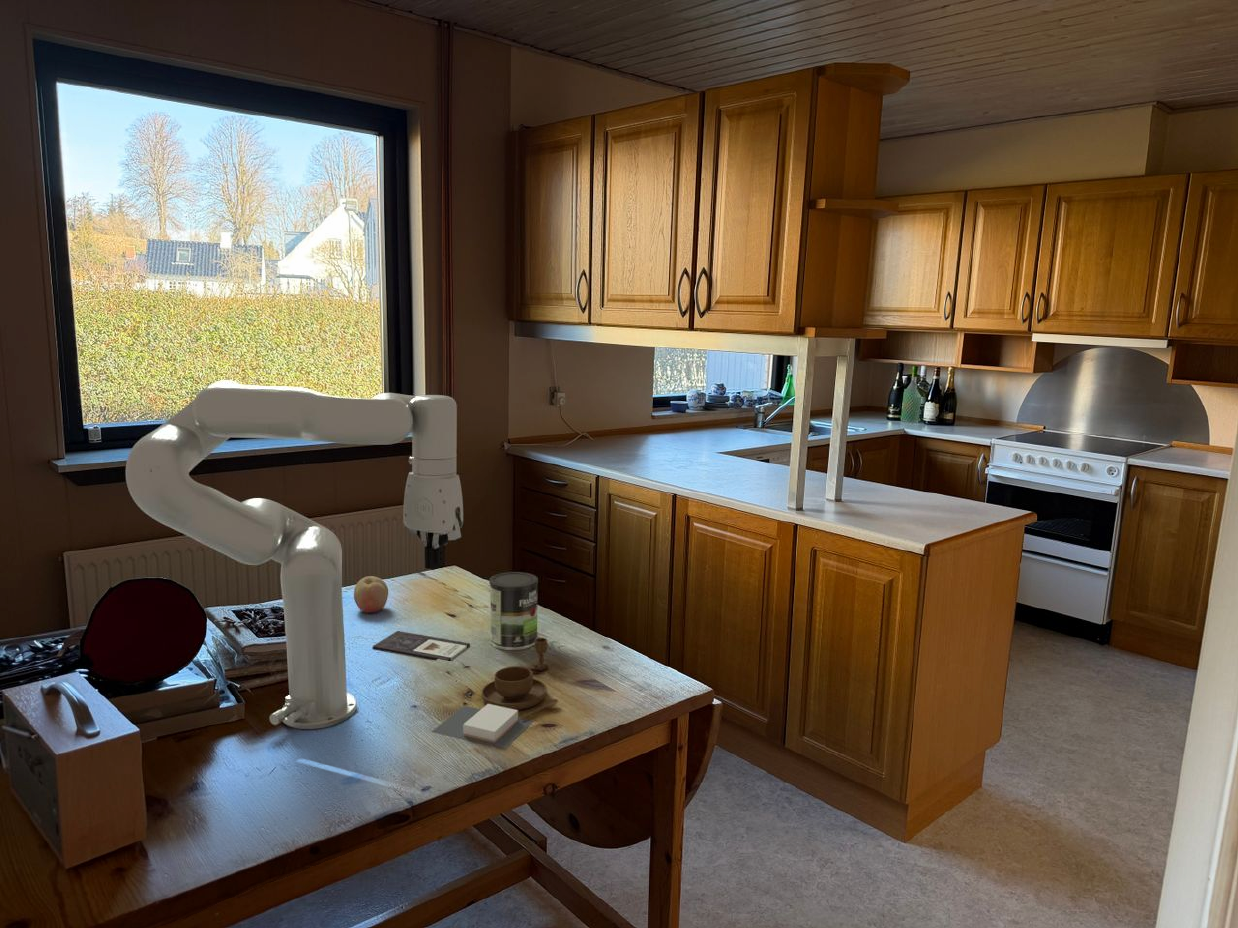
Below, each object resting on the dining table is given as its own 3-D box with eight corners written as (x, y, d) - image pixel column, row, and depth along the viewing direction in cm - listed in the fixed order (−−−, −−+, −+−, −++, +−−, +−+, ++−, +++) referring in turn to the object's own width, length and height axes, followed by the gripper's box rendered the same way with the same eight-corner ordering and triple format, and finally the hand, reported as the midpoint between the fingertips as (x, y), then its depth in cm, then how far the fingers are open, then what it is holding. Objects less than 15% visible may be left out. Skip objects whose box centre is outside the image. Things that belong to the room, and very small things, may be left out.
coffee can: (547, 638, 181) (547, 576, 178) (519, 654, 172) (519, 590, 169) (509, 628, 186) (508, 568, 183) (480, 644, 177) (479, 581, 174)
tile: (463, 735, 138) (494, 742, 136) (463, 724, 138) (494, 731, 136) (487, 714, 146) (518, 720, 143) (487, 703, 145) (518, 710, 143)
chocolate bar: (397, 630, 182) (469, 643, 176) (397, 634, 182) (469, 647, 176) (372, 646, 173) (447, 660, 168) (372, 650, 173) (447, 664, 168)
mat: (505, 752, 134) (504, 748, 134) (432, 734, 139) (431, 731, 139) (533, 724, 144) (533, 721, 144) (463, 708, 149) (463, 705, 149)
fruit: (349, 616, 191) (347, 583, 189) (360, 604, 199) (359, 572, 197) (383, 617, 191) (382, 584, 189) (393, 605, 198) (392, 573, 197)
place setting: (458, 694, 154) (457, 664, 153) (540, 663, 168) (539, 635, 167) (518, 724, 142) (517, 692, 141) (601, 688, 156) (600, 658, 155)
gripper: (386, 464, 144) (387, 565, 147) (456, 475, 138) (455, 580, 141) (414, 458, 150) (414, 555, 154) (482, 468, 144) (481, 569, 148)
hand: (434, 567), depth 147 cm, fingers closed
